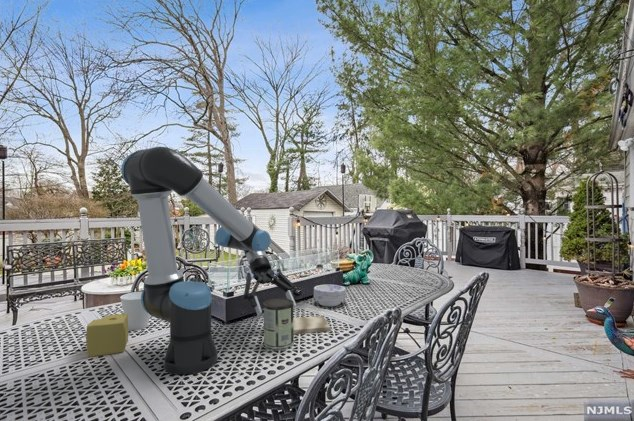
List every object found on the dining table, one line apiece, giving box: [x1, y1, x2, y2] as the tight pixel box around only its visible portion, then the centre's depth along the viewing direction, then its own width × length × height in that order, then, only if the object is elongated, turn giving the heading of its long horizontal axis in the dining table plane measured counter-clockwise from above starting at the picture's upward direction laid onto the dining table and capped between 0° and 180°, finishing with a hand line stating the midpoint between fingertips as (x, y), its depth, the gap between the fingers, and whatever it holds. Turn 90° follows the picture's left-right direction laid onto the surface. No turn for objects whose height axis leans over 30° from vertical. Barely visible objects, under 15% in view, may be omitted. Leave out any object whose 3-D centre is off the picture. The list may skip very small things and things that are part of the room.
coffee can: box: [262, 297, 295, 350], centre depth 117 cm, size 10×10×14 cm
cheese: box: [85, 313, 129, 358], centre depth 113 cm, size 10×11×10 cm
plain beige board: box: [293, 315, 332, 335], centre depth 133 cm, size 18×13×2 cm
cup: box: [119, 291, 151, 331], centre depth 133 cm, size 12×12×12 cm
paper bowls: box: [313, 284, 347, 308], centre depth 163 cm, size 15×15×8 cm
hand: (277, 310), depth 121 cm, fingers open, 13 cm apart
